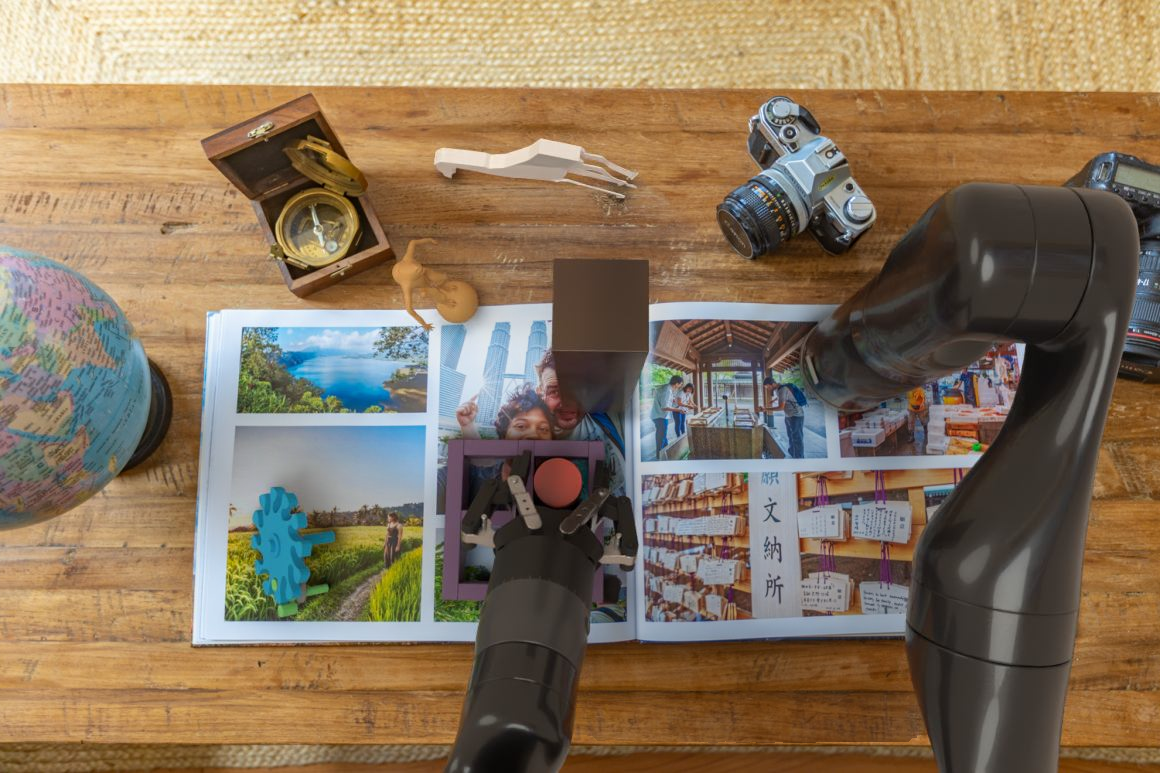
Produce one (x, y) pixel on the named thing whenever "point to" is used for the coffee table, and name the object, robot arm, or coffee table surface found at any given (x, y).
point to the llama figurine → (532, 163)
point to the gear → (285, 550)
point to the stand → (599, 331)
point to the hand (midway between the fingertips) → (563, 463)
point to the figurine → (434, 289)
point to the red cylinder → (558, 483)
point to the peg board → (458, 506)
